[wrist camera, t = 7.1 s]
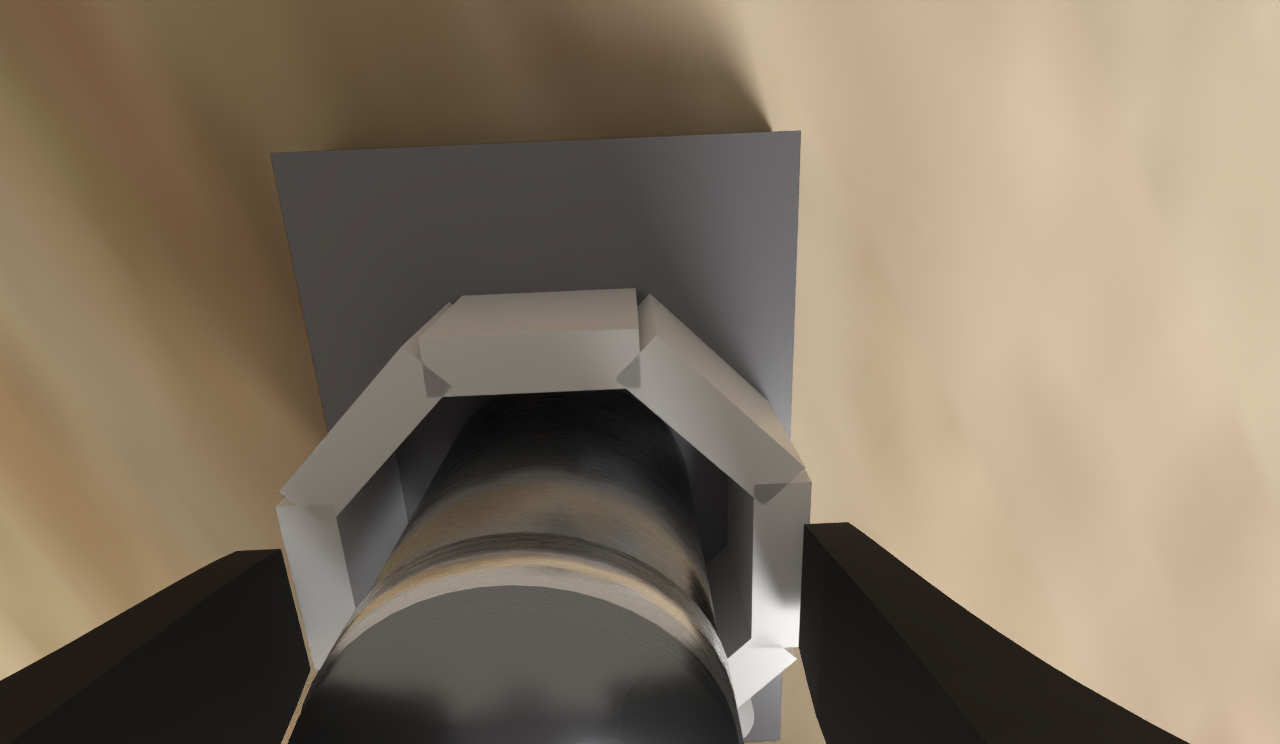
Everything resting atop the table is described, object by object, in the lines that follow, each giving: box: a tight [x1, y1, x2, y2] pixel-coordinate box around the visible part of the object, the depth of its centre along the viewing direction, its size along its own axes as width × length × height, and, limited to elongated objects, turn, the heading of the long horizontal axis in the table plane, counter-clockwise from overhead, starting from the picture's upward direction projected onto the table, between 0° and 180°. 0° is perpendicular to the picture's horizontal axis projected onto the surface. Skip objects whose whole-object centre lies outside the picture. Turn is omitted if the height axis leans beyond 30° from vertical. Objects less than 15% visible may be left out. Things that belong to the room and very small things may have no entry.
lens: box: [288, 389, 744, 744], centre depth 9 cm, size 4×4×6 cm
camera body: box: [270, 131, 812, 742], centre depth 12 cm, size 12×8×4 cm, turn 2°
